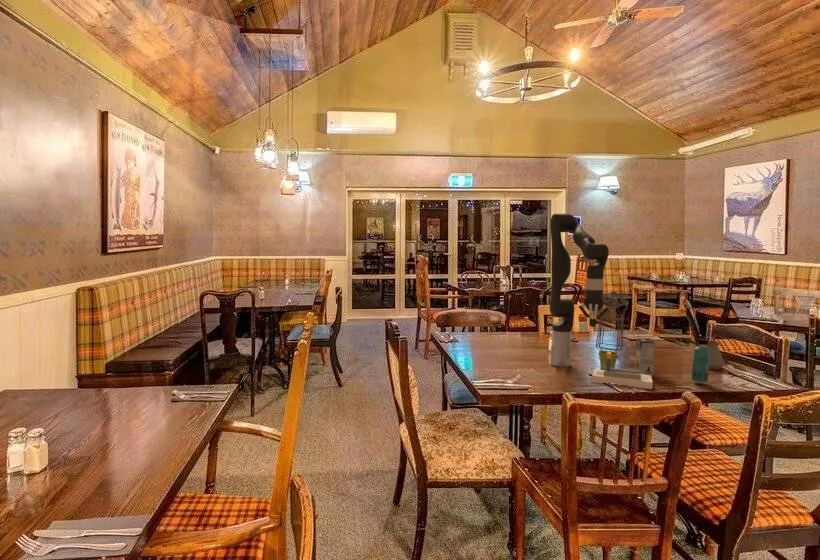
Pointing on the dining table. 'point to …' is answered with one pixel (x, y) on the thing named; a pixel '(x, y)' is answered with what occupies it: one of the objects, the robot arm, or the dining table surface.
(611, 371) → the handle
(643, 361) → the coffee box
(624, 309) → the geometric lantern
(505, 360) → the dining table surface
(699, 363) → the beverage bottle
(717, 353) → the coffee pot
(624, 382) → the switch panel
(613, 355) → the plant pot
